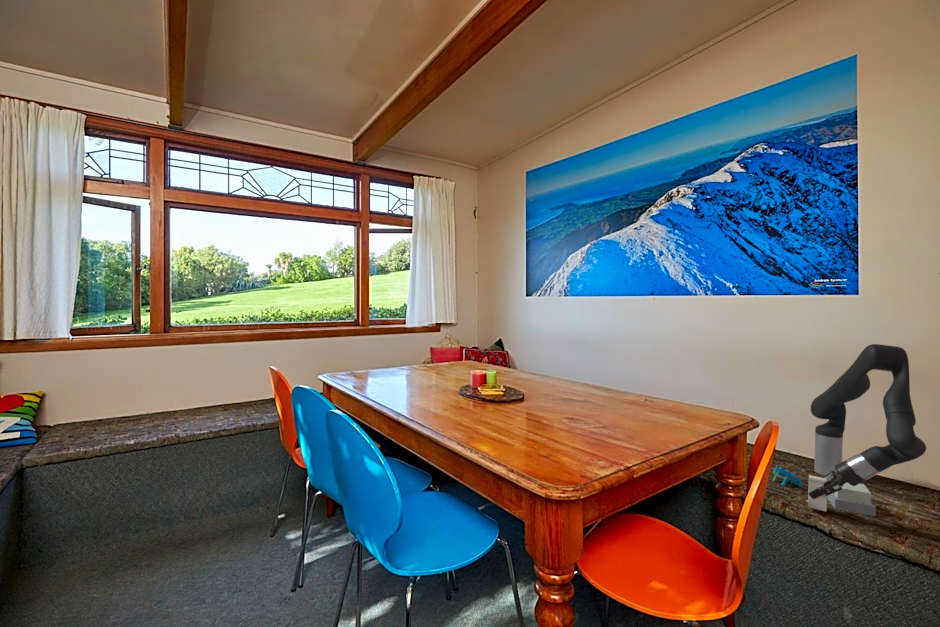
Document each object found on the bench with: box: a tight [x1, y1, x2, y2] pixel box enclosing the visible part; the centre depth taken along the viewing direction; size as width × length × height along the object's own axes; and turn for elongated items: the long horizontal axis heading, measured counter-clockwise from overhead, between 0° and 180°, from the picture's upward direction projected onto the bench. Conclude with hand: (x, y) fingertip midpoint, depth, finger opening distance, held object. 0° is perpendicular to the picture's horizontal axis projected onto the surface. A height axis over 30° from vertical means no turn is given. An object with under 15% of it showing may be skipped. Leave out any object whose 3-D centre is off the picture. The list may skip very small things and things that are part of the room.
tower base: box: [827, 489, 877, 517], centre depth 154 cm, size 11×11×4 cm
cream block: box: [807, 474, 828, 512], centre depth 150 cm, size 5×5×10 cm
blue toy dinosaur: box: [772, 466, 804, 487], centre depth 172 cm, size 11×6×10 cm
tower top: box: [835, 483, 872, 505], centre depth 154 cm, size 9×9×4 cm
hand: (810, 493), depth 151 cm, fingers closed on cream block, 5 cm apart
